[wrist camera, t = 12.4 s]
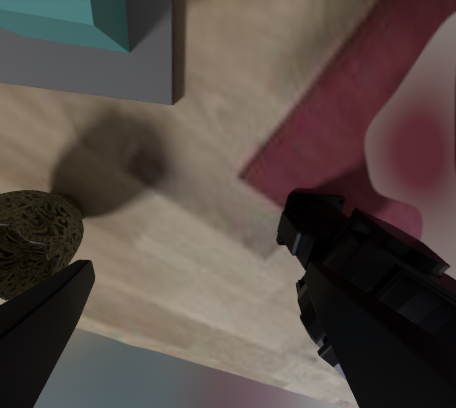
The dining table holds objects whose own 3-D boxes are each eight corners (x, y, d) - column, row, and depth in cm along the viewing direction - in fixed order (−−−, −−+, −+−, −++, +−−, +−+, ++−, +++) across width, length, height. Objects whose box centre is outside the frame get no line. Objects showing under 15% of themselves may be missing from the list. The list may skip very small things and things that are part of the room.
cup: (20, 231, 19) (-88, 305, 12) (13, 159, 16) (-134, 199, 9) (104, 246, 21) (53, 317, 14) (110, 183, 18) (51, 231, 11)
